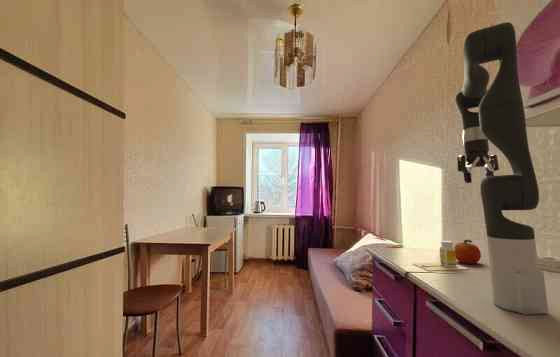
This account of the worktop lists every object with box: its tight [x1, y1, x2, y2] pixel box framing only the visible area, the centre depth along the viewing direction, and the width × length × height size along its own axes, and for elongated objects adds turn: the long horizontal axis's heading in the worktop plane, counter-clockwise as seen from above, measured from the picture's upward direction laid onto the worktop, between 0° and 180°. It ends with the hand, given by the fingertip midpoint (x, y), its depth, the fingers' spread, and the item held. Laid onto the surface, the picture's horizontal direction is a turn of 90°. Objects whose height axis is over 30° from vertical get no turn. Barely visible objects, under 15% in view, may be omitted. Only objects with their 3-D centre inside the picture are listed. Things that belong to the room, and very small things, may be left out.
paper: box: [412, 261, 470, 272], centre depth 103 cm, size 11×16×1 cm
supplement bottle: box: [439, 240, 457, 267], centre depth 104 cm, size 5×5×10 cm
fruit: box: [453, 239, 482, 265], centre depth 109 cm, size 10×10×10 cm
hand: (479, 182), depth 96 cm, fingers open, 8 cm apart
